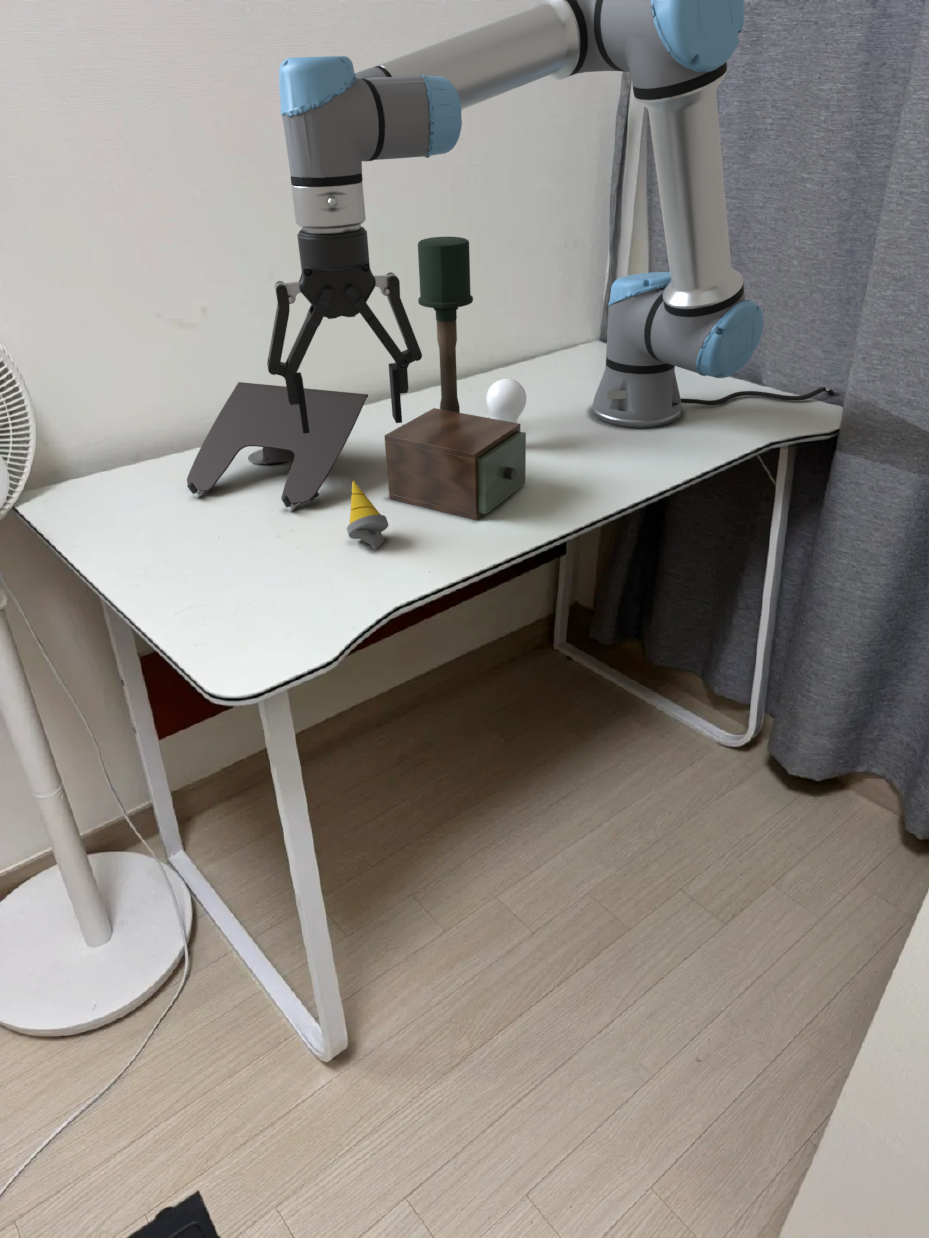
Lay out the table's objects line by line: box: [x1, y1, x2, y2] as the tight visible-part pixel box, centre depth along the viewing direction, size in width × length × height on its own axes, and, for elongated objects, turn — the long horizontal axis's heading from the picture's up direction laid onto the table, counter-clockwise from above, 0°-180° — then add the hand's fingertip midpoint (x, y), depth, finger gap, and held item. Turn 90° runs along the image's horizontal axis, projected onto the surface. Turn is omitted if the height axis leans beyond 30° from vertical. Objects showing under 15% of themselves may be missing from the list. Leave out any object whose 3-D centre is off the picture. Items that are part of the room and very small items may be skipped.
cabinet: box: [384, 407, 521, 521], centre depth 122 cm, size 15×13×10 cm
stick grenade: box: [417, 236, 474, 413], centre depth 138 cm, size 8×9×30 cm
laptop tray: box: [186, 381, 369, 511], centre depth 130 cm, size 23×23×9 cm
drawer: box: [478, 430, 527, 515], centre depth 121 cm, size 15×11×8 cm
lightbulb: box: [485, 377, 527, 423], centre depth 136 cm, size 6×6×11 cm
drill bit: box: [346, 480, 389, 551], centre depth 112 cm, size 5×5×10 cm
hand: (351, 424), depth 105 cm, fingers open, 10 cm apart
